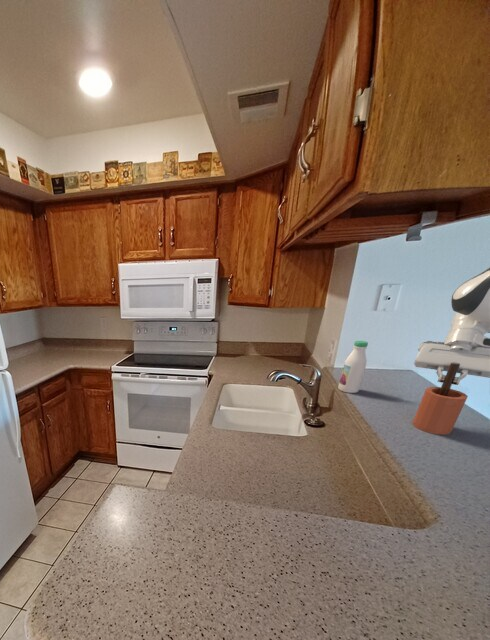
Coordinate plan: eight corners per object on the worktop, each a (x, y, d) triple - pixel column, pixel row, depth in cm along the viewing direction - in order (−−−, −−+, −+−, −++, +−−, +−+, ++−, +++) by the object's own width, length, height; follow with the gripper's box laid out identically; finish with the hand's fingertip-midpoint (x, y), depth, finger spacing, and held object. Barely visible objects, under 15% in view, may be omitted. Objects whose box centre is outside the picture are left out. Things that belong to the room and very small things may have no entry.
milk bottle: (359, 389, 137) (373, 341, 128) (357, 394, 132) (371, 344, 122) (339, 385, 141) (352, 338, 132) (336, 390, 136) (349, 342, 126)
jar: (444, 423, 109) (460, 389, 103) (456, 436, 101) (473, 400, 95) (409, 418, 112) (422, 385, 107) (417, 431, 104) (431, 396, 98)
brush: (443, 408, 106) (462, 362, 99) (445, 412, 103) (465, 365, 96) (428, 405, 108) (446, 360, 101) (430, 410, 104) (448, 364, 98)
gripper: (423, 334, 106) (409, 370, 104) (509, 343, 95) (495, 384, 92) (419, 345, 111) (406, 380, 109) (500, 355, 100) (487, 394, 98)
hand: (448, 382), depth 101 cm, fingers closed on brush, 2 cm apart
